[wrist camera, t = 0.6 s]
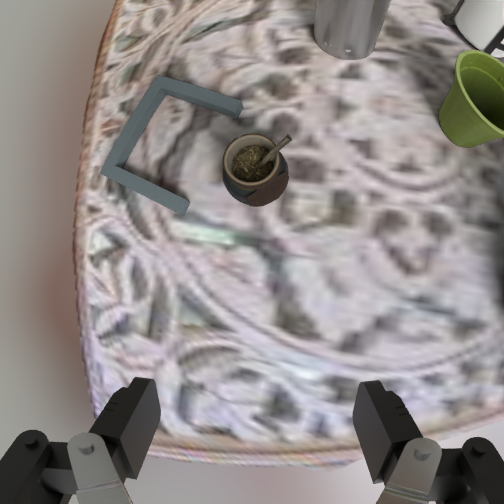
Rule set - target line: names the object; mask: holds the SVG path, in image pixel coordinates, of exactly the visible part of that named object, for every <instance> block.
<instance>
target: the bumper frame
mask: <svg viewBox="0 0 504 504" xmlns="http://www.w3.org/2000/svg"><path fill="white" fill-rule="evenodd" d="M165 95H169V96H172V97H176V98H179V99H182V100H185V101H188V102H191V103H194V104H197V105H200V106H203V107H205V108H208V109H211V110H214V111H217V112H219V113H222V114H225V115H228V116H230V117H233V118H235V119H237V118H238V116H239V114H240V112H241V111H242V109H243V106H242V102H241V100H238V99H235V98H232V97H229V96H226V95H223V94H220V93H217V92H214V91H211V90H208V89H205V88H202V87H199V86H196V85H192V84H189V83H186V82H182V81H179V80H175V79H172V78H168V77H164V76H160V75H158V76H157V77H156V78H155V80H154V81H153V83H152V84H151V86H150V87H149V89H148V90H147V92H146V93H145V95H144V96H143V98H142V99H141V101H140V103H139V104H138V106H137V107H136V109H135V111H134V112H133V114H132V115H131V117H130V119H129V120H128V122H127V124H126V125H125V127H124V129H123V131H122V132H121V134H120V136H119V137H118V139H117V141H116V143H115V145H114V146H113V148H112V150H111V152H110V154H109V156H108V158H107V159H106V161H105V163H104V165H103V167H102V169H101V171H100V174H102V175H104V176H106V177H108V178H110V179H112V180H114V181H116V182H118V183H120V184H122V185H124V186H126V187H128V188H130V189H132V190H134V191H136V192H138V193H140V194H142V195H144V196H146V197H147V198H149V199H151V200H153V201H155V202H157V203H159V204H161V205H163V206H165V207H167V208H169V209H171V210H173V211H175V212H177V213H179V214H181V215H183V216H184V214H185V212H186V210H187V208H188V206H189V204H190V202H189V201H187V200H186V199H184V198H182V197H180V196H178V195H175V194H173V193H171V192H169V191H167V190H165V189H163V188H161V187H159V186H157V185H155V184H153V183H151V182H149V181H147V180H145V179H142V178H140V177H138V176H136V175H134V174H132V173H130V172H128V171H126V170H124V169H123V167H124V165H125V163H126V161H127V159H128V157H129V155H130V154H131V152H132V150H133V148H134V146H135V145H136V143H137V141H138V139H139V138H140V136H141V134H142V132H143V131H144V129H145V127H146V126H147V124H148V122H149V121H150V119H151V117H152V116H153V114H154V112H155V111H156V109H157V108H158V106H159V105H160V103H161V101H162V100H163V98H164V97H165Z"/></svg>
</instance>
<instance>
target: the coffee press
mask: <svg viewBox="0 0 504 504" xmlns="http://www.w3.org/2000/svg"><path fill="white" fill-rule="evenodd" d="M453 17H454V20H455V21H454V20H451V21H446V20H448V19H451V18H453ZM443 23H444V24H445V25H448V26H449V25H456V26H457V27H458V29H459V30H460V32H461V33H462V34H463V36H464V37H465V38H466V39H467V40H468V41H469V42H470V43H471V44H472V45H474V46H475V47H476V48H478V49H479V51H482V52H485V53H487V54H489V55H491V56H493V57H504V0H460V1H459V3H458V4H457V6H456V8H455V9H454V11H453V12H452V13H451V14H448V15H445V16H443Z"/></svg>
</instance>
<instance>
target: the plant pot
mask: <svg viewBox="0 0 504 504" xmlns="http://www.w3.org/2000/svg"><path fill="white" fill-rule="evenodd" d="M455 71H456V73H455V75H454V81H453V83H452V85H451V87H450V89H449V92H448V94H447V96H446V98H445V100H444V102H443V104H442V106H441V108H440V110H439V120H440V126H441V128H442V130H443V132H444V133H445V135H446V136H447V137H448V138H449V139H450V140H451V141H452V142H453V143H454V144H456V145H458V146H461V147H466V148H470V147H473V146H476V145H479V144H482V143H485V142H488V141H491V140H494V139H498V138H504V64H503V63H502V62H500V61H499V60H498V59H496V58H495V57H493V56H491V55H489V54H487V53H485V52H482V51H479V50H467V51H464V52H462V53H461V54H460V55H459V56H458V58H457V61H456V65H455Z"/></svg>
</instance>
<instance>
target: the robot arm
mask: <svg viewBox="0 0 504 504" xmlns="http://www.w3.org/2000/svg"><path fill="white" fill-rule="evenodd" d="M390 2H391V0H316V11H315V23H314V38H315V41H316V42H317V44H318V45H319V46H320V47H321V48H322V49H323V50H324V51H326V52H327V53H329V54H331V55H333V56H335V57H338V58H341V59H347V60H357V59H362V58H365V57H367V56H369V55H370V54H371V53H372V52H373V50H374V47H375V45H376V42H377V39H378V36H379V34H380V31H381V28H382V25H383V22H384V20H385V17H386V14H387V11H388V8H389V5H390ZM160 416H161V409H160V404H159V399H158V394H157V389H156V384H155V381H154V379H148V378H140V377H135V378H134V379H133V381H132V382H131V384H130V385H129V387H128V388H126V387H122V388H121V389H119V390H118V391H116V392H115V393H113V395H112V397H111V398H110V400H109V401H108V403H107V404H106V406H105V407H104V410H102V412H101V413H100V415H99V417H98V418H97V420H96V421H95V423H94V425H93V426H92V428H91V429H90V431H89V432H88V433H81V434H78V435H76V436H74V437H73V438H71V439H70V441H69V442H68V443H65V442H49V440H48V439H47V437H46V435H45V434H44V433H42V432H41V431H38V430H28V431H25V432H23V433H21V434H20V435H19V436H18V437H17V438H16V439H15V441H14V442H13V444H12V445H11V446H10V448H9V449H8V450H7V452H6V453H5V455H4V456H3V457H2V459H1V460H0V504H68V502H69V500H70V499H71V496H72V494H76V495H77V499H78V502H79V504H133V502H132V500H131V498H130V496H129V494H128V492H127V490H126V488H125V486H124V482H125V479H126V477H127V478H132V479H137V477H138V474H139V471H140V469H141V467H142V464H143V461H144V459H145V457H146V454H147V452H148V449H149V447H150V444H151V442H152V439H153V437H154V434H155V432H156V429H157V427H158V424H159V421H160ZM353 424H354V427H355V430H356V433H357V436H358V439H359V442H360V445H361V448H362V451H363V454H364V457H365V460H366V463H367V466H368V469H369V472H370V474H371V478H372V481H373V484H376V483H381V482H384V485H385V488H384V490H383V492H382V494H381V495H380V497H379V499H378V501H377V502H376V504H428V503H429V501H436V504H504V461H503V459H502V458H501V456H500V455H499V453H498V451H497V450H496V448H495V447H494V445H493V444H492V443H491V442H490V441H489V440H487V439H485V438H482V437H474V438H470V439H468V440H467V441H466V442H465V443H464V445H463V447H462V448H457V449H442V448H441V447H440V446H439V445H438V443H436V442H435V441H433V440H431V439H428V438H423V436H422V434H421V432H420V430H419V429H418V427H417V425H416V423H415V422H414V420H413V418H412V416H411V415H410V414H409V411H408V410H407V408H405V404H404V403H403V401H402V399H401V398H400V397H399V396H398V395H396V394H395V393H394V392H392V391H385V389H384V387H383V385H382V383H381V382H380V381H379V380H376V381H366V382H361V383H360V384H359V387H358V392H357V397H356V401H355V405H354V409H353Z"/></svg>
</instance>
